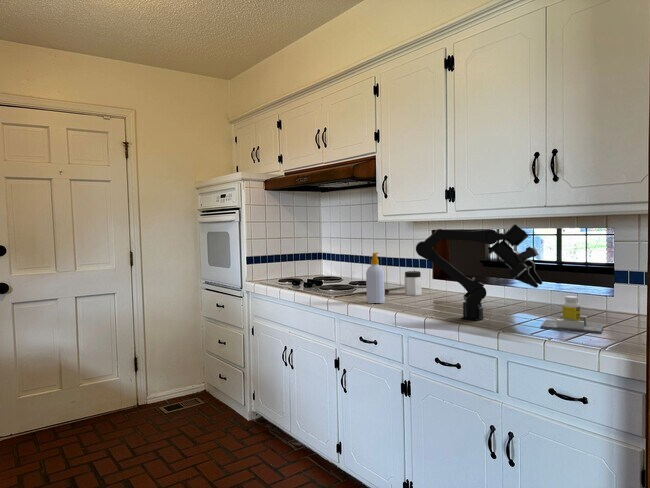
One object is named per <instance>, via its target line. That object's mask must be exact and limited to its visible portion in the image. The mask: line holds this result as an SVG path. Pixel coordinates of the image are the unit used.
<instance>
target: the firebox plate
mask: <svg viewBox="0 0 650 488" xmlns="http://www.w3.org/2000/svg"><path fill="white" fill-rule="evenodd" d="M603 328H604V323H593V322H588V321H587V316H586V315H580V321H576V320H563V313H562V314H560V319H559V318H557V319H555V320H554V319H545V320H544V321H543V322H542V324H541V325H540V329H545V330H546V329H547V330H557V331H566V332H567V331H568V332H576V333H577V332H579V333H590V334H598V335H600V334H602V331H603Z"/></svg>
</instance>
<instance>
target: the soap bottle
mask: <svg viewBox="0 0 650 488" xmlns="http://www.w3.org/2000/svg"><path fill="white" fill-rule="evenodd" d="M378 254H379V252H372V257H371V260H370V262H371V263H370V265H369V267H368V268H367V270H366V273H365V278H366V279H365V280H366V281H365V282H366V283H365V284H366V285H365V286H366V290H365V291H366V303H367V302H368V303H367V304H370V303H382V304H384V303H385V302H386V300H385V299H386V298H385V295H386V294H385V289H386V287H385V288H384V282H385V271H384V269H383V268H382V267H381V265H379V264H380V263H379V258H378Z"/></svg>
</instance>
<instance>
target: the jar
mask: <svg viewBox="0 0 650 488" xmlns="http://www.w3.org/2000/svg"><path fill="white" fill-rule="evenodd" d="M421 274H422V273H421V271H420V270H419V271H418V270H417V271H416V270H411V271H410V270H409V271H405V272H404V295H406V296H409V297H410V296H411V297H412V296H415V297H416V296H421V295H422V293H423V291H422V277H421V276H422V275H421Z"/></svg>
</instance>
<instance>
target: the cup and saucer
mask: <svg viewBox="0 0 650 488" xmlns="http://www.w3.org/2000/svg"><path fill="white" fill-rule="evenodd" d="M385 284H386V283H385V281H384V288H385V295H386V294H388V293H389V292H390V289H386V285H385Z"/></svg>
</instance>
